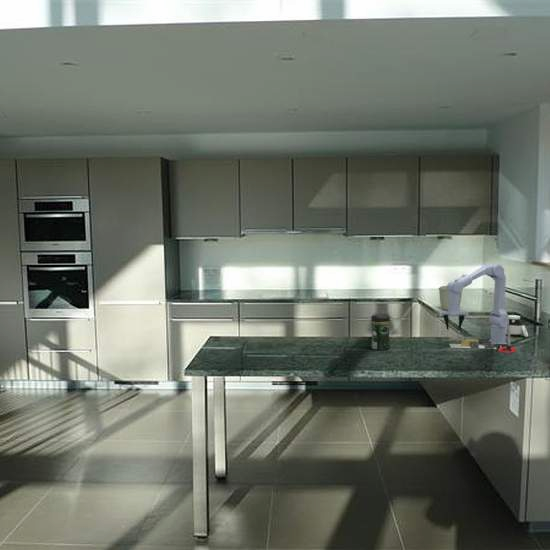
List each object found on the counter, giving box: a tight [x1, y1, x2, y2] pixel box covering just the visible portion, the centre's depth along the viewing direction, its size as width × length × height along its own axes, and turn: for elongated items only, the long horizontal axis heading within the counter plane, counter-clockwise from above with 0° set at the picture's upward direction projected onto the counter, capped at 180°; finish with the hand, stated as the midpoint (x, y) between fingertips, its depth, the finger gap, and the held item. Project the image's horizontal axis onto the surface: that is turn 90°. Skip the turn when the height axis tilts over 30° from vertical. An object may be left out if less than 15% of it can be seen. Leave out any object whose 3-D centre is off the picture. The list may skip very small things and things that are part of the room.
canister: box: [438, 285, 464, 311], centre depth 431 cm, size 18×18×21 cm
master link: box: [461, 338, 479, 347], centre depth 300 cm, size 3×8×4 cm, turn 80°
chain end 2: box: [481, 340, 497, 349], centre depth 299 cm, size 8×6×2 cm
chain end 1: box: [470, 342, 480, 349], centre depth 300 cm, size 8×4×2 cm, turn 170°
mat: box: [448, 343, 498, 350], centre depth 301 cm, size 9×23×1 cm, turn 80°
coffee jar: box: [370, 313, 391, 351], centre depth 298 cm, size 10×8×19 cm
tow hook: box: [497, 326, 517, 354], centre depth 289 cm, size 8×13×9 cm
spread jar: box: [505, 314, 529, 338], centre depth 328 cm, size 12×11×12 cm
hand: (453, 329), depth 301 cm, fingers open, 5 cm apart
